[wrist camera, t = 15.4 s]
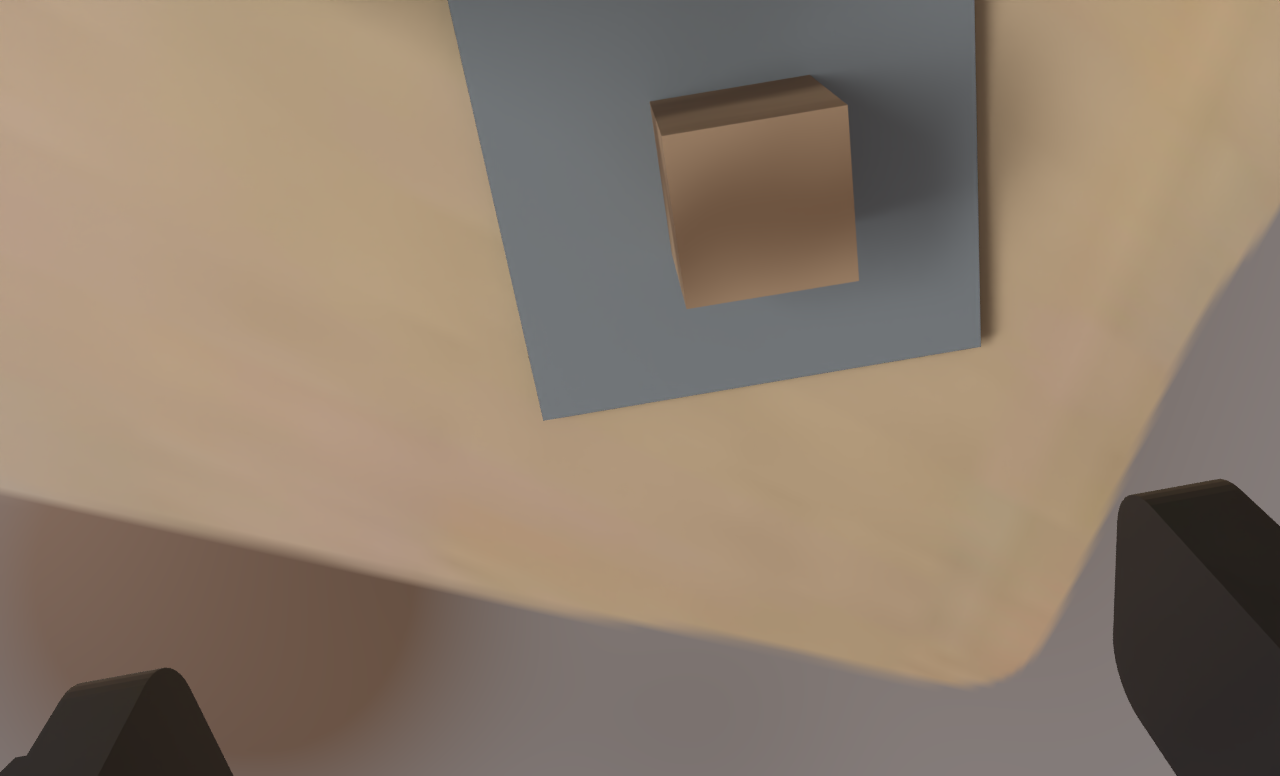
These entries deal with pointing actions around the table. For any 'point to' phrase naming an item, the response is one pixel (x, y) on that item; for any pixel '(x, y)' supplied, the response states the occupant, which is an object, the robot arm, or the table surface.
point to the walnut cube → (757, 190)
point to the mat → (634, 204)
